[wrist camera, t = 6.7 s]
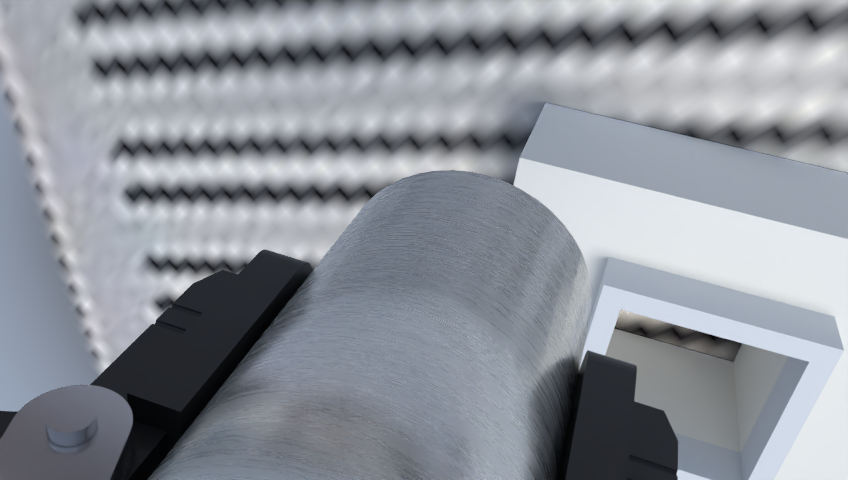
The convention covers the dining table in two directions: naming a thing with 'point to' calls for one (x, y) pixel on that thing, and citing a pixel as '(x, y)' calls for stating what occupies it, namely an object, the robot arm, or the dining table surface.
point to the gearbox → (711, 286)
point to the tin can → (412, 349)
